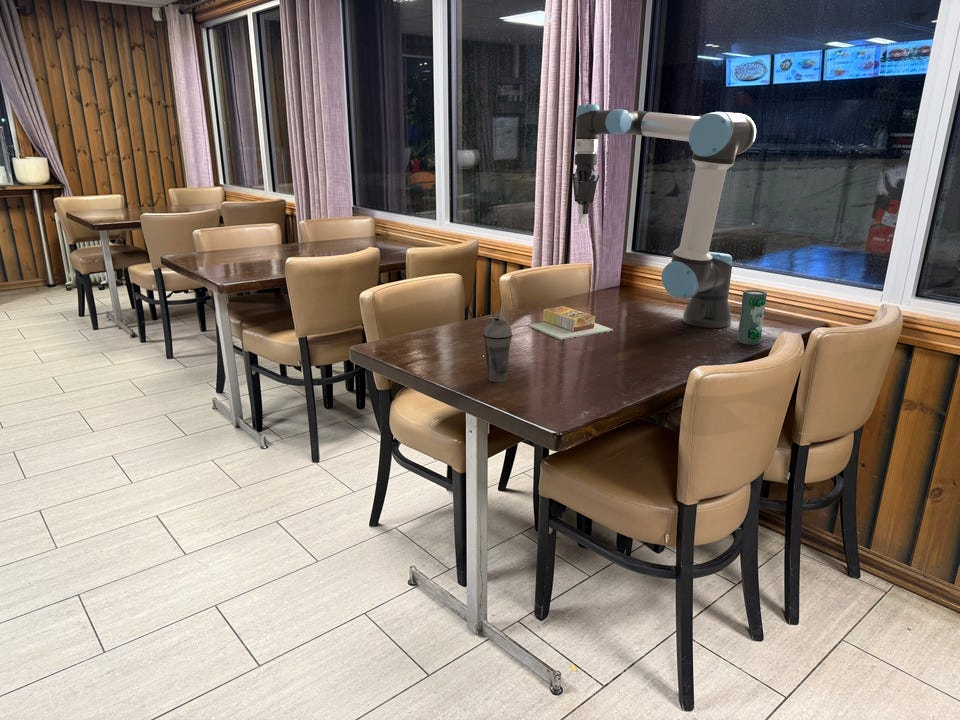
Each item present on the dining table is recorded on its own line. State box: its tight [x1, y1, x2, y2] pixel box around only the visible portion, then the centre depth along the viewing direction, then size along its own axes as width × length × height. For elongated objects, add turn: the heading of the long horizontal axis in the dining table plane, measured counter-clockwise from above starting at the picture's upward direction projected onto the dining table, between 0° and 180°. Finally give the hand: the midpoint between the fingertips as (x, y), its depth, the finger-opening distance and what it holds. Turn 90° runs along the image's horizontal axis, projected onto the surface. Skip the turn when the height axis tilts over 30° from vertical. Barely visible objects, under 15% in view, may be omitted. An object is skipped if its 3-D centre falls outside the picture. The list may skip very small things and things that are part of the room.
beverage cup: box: [482, 300, 513, 383], centre depth 164 cm, size 7×7×20 cm
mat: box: [527, 321, 614, 341], centre depth 211 cm, size 18×20×1 cm
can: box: [736, 289, 768, 345], centre depth 195 cm, size 6×6×15 cm
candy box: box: [542, 305, 596, 332], centre depth 213 cm, size 9×4×15 cm
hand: (582, 223), depth 233 cm, fingers closed
